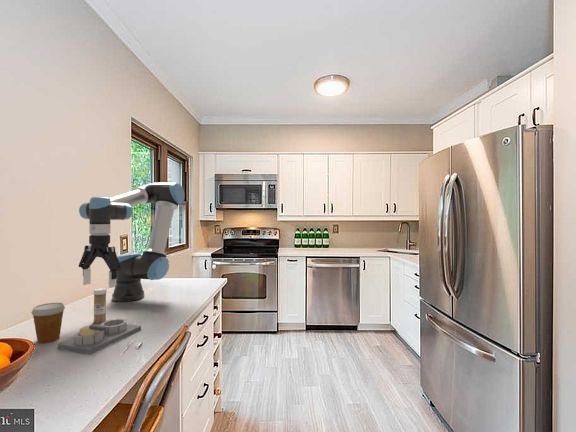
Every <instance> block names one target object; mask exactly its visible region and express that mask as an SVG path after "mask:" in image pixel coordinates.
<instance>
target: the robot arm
mask: <svg viewBox="0 0 576 432" xmlns="http://www.w3.org/2000/svg"><path fill="white" fill-rule="evenodd" d="M185 196H186V195H185V191H184V188H183V186H182V184H180V183H178V182H172V181H171V182H153V183H147V184H144V185H141V186H138V187H136V188H134V189H133V190H131V191H128V192H125V193H121V194H117V195H115V196H112V197H103V196H92V197H91V198H90V199H89V202H83V203H82V204H81V205H80V206H79V208H78V212H79V216H80V217H81V218H82V219H84V220H89V221H88V222H89V226H88V228H89V229H88V231H89V232H88V233H89V237H88V244H89V245H85V246H84V251H83V253H82V255H81V256H82V257H81V258H80V261H79V263H78V267H79V268H81V269H82V279H83V284H82V285H83V286H86V285H91V281H92V279H91V278H92V276H91V275H92V271H91V270H92V269H91V265H92V264H93V262H94V261H95V259H96V258H101V260H103V261H104V263H105V265H107V267H108V269H109V271H108V288H109V289H110V288H111V289H112V288H114V289H113V293H112V295H111V300H112V301H113V302H120V303H121V302H122V303H123V302H124V303H126V302H133V301H137V300H140V299H142V298H145V290H144V287H143V286H142V285H143V284H142V280H149V281H157V280H162V279H164V277H165V276H166V275H167V274H168V272H169V269H170V261H169V259H168V258H167V254H166V252H165V251H166V247H167V243H168V237H169V233H170V229H171V224H172V221H173V215H174V212H175V211H176V210H177V209H178V208H179V205H181V204H183V202H184V201H185ZM145 204H155V205H156V206H157V209H156V213H155V217H154V221H153V223H152V229H151V233H150V235H149V240H148V244H147V248H146V249H145V250H143V251H142V254H141V252H135V253H127V254H121V255H117V252H116V247H115V246H109V245H110V244H111V221H124V220H129V219H130V218H131V217H132V216H133V211H134V210H133V207H134V206H138V205H145Z"/></svg>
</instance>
